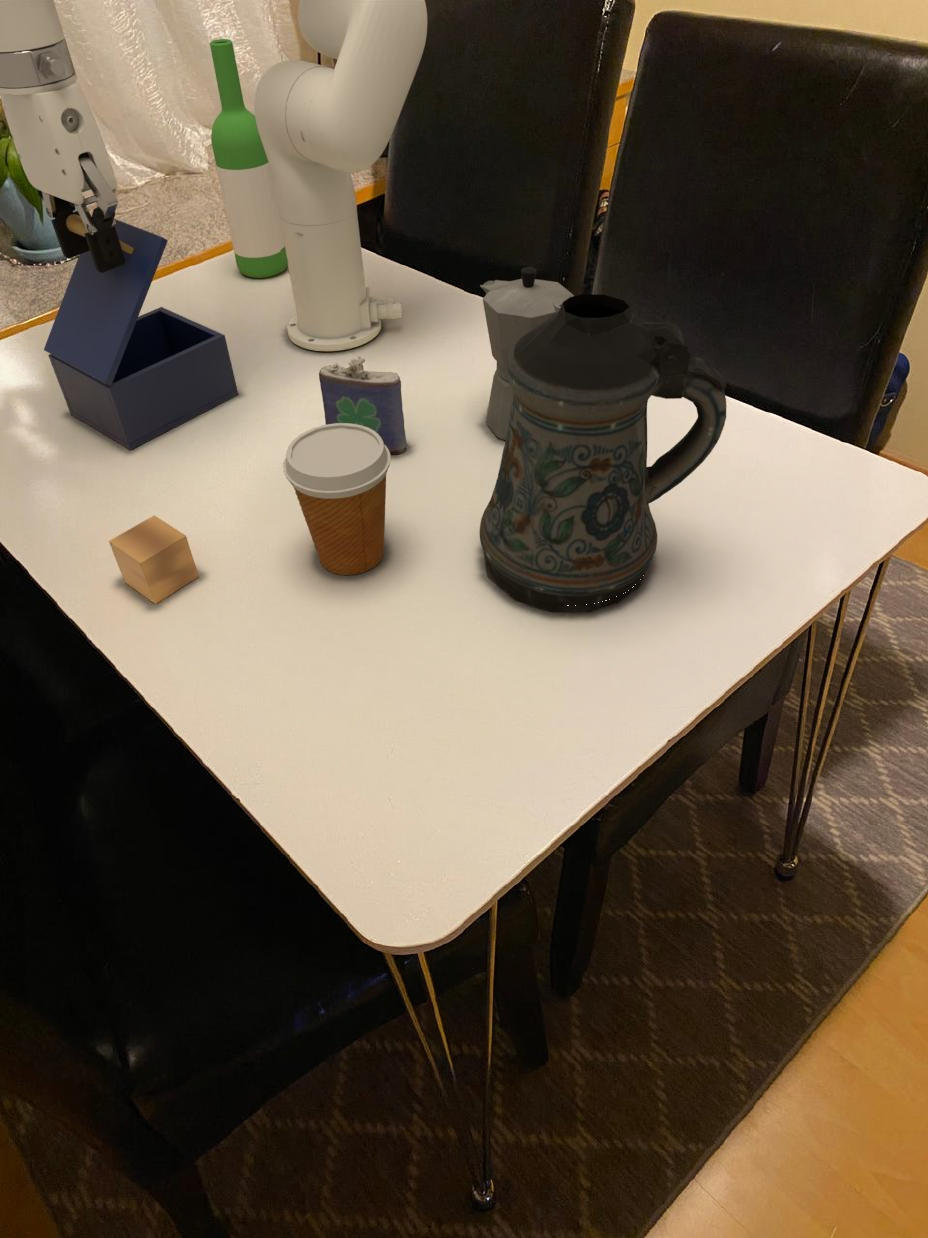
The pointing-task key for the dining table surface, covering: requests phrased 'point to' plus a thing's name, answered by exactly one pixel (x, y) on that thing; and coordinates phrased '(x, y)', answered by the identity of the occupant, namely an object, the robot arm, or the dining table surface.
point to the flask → (365, 401)
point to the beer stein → (590, 454)
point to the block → (154, 559)
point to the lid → (104, 303)
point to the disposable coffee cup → (341, 493)
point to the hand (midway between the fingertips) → (94, 258)
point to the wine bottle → (245, 175)
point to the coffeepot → (514, 330)
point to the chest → (153, 380)
